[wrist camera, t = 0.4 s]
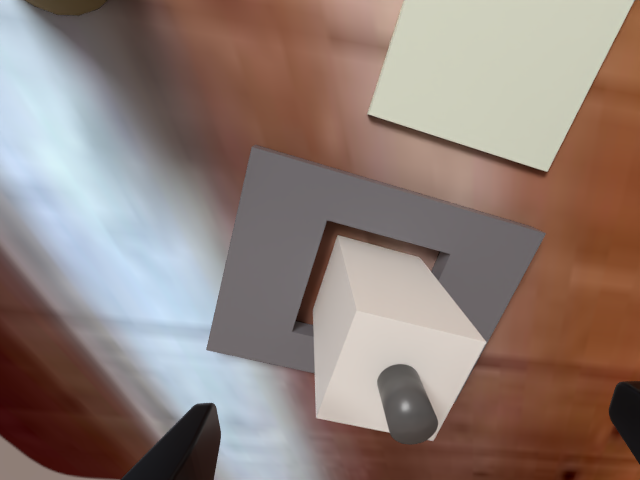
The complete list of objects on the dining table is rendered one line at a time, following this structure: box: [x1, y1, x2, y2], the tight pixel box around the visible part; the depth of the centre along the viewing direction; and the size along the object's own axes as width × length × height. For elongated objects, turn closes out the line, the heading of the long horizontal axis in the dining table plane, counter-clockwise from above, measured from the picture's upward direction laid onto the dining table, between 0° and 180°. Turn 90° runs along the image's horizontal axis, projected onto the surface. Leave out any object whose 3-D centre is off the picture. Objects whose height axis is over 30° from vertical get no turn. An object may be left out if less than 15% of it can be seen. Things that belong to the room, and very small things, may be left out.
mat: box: [368, 0, 634, 172], centre depth 16 cm, size 10×10×1 cm
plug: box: [313, 235, 486, 444], centre depth 16 cm, size 5×5×10 cm
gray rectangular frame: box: [206, 145, 546, 403], centre depth 20 cm, size 16×12×1 cm
